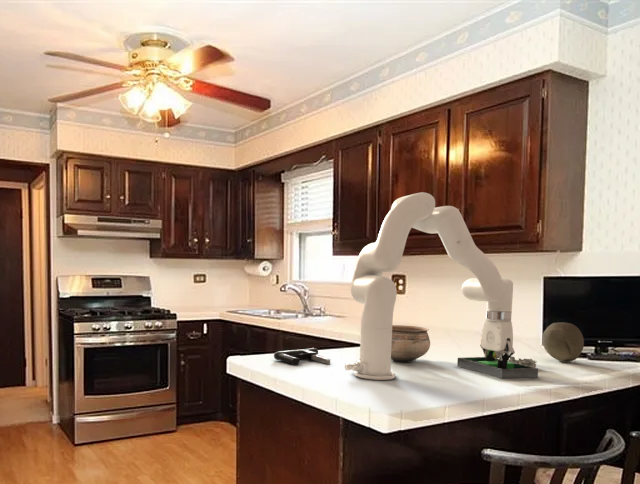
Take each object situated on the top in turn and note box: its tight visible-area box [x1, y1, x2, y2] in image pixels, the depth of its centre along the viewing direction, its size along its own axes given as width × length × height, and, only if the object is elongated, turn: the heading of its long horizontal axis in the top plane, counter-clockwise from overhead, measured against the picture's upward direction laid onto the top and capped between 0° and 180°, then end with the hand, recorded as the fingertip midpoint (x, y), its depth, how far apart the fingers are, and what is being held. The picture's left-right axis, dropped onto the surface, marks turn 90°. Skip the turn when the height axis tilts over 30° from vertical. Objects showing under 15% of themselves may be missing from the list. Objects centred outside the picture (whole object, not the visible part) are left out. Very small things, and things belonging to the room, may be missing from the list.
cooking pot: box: [391, 324, 431, 363], centre depth 199 cm, size 25×19×12 cm
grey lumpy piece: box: [508, 355, 537, 368], centre depth 189 cm, size 11×8×4 cm
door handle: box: [273, 347, 331, 366], centre depth 193 cm, size 3×20×16 cm
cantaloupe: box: [542, 322, 585, 363], centre depth 206 cm, size 14×14×15 cm
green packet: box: [478, 361, 514, 369], centre depth 179 cm, size 10×5×3 cm, turn 104°
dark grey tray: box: [456, 356, 539, 380], centre depth 179 cm, size 14×22×4 cm, turn 14°
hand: (495, 370), depth 179 cm, fingers closed on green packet, 5 cm apart
